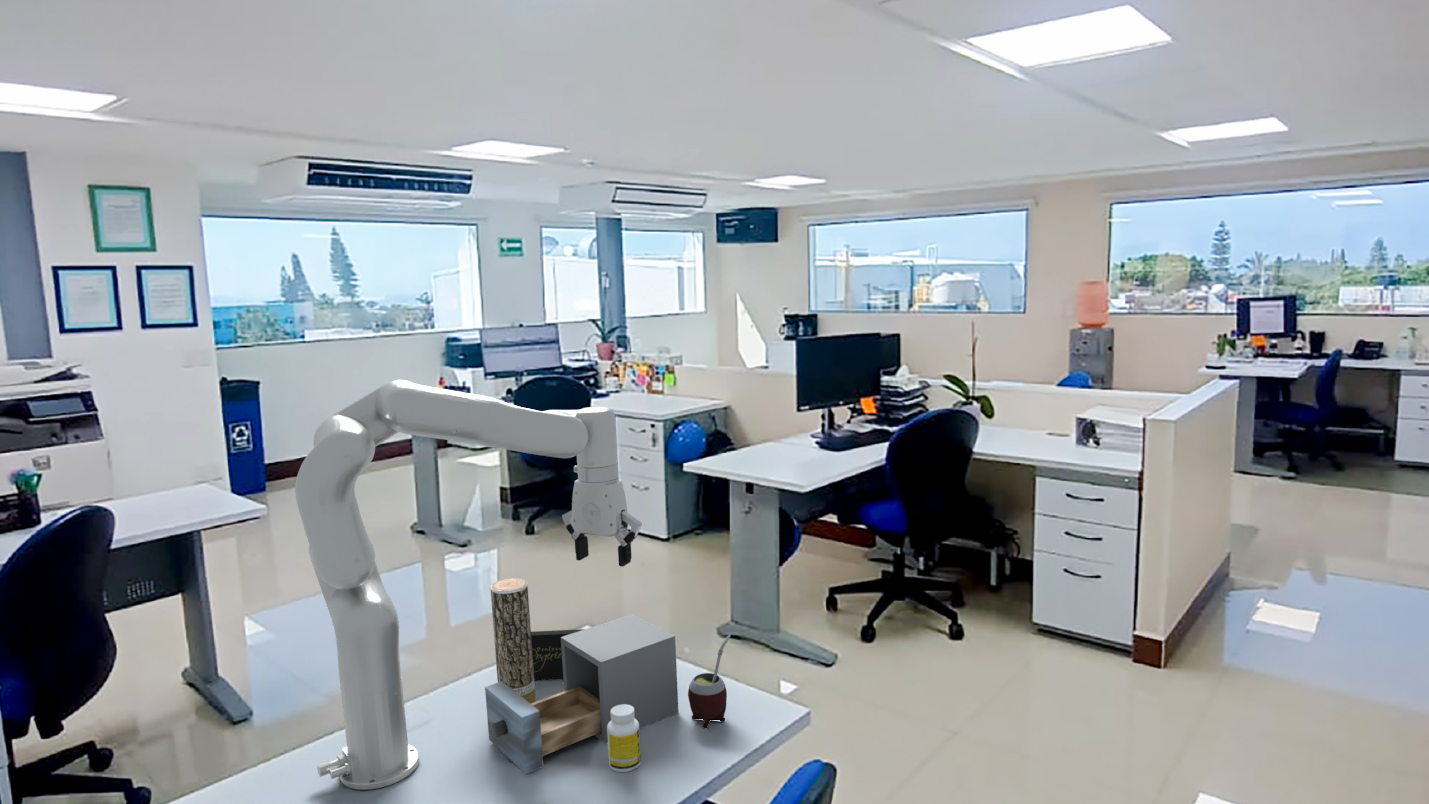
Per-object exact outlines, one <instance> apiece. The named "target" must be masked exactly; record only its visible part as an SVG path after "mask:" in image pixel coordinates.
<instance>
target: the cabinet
mask: <svg viewBox="0 0 1429 804" xmlns="http://www.w3.org/2000/svg"><path fill="white" fill-rule="evenodd" d="M583 629H584V630H581V631H578V632H575V633H572V634H569V635H566V636H563V637H561V649H562V665H563V692H564V691H566V690H569V689H572V688H575V687H577V686H580V687H582V688H583V689H585V690H586V691H588V692H589V693H591V694H592V695H594V696H595V697H596V698H598V699H599V700H600V712H601V729H602V732H599V733H597V734H595V735H594V736H595V737H596V738H598V739H599V740H601V741H602V742H603V743H604V744H608V737H607V725H608V723H609V722H610V721H611V709H612V708H613V707H615V706H617V705H622V704H627V705H631V706H633V708H634V713H635V717H634V718H635V719H636V720H637V721H638V723H639V730H640V729H643V728H646V727H649V726H650V725H653V724H655V723H657V722H660V721H662V720H664V719H666V718H669V717H672V716H674V715H676V714H678V713H679V696H678V695H679V693H678V691H679V690H678V675H677V674H678V672H677V671H678V670H677V669H678V667H677V651H676V650H677V649H676V648H677V647H676V646H677V645H676V635H674V634H672V633H670V632H668V631H666V630H664V629H663V628H660V627H659V626H656V625H655V624H653V623H651V622H649V621H647V620H645V619H643V618H641V617H639V616H637V615H635V614H633V613H631V614H629V615H625V616H621V617H618V618H616V619H613V620H610V621H606V622H604V623H601V624H597V625H594V626H591V627H588V628H583ZM673 714H674V715H673Z"/></svg>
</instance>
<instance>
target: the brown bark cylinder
mask: <svg viewBox="0 0 1429 804" xmlns="http://www.w3.org/2000/svg"><path fill="white" fill-rule="evenodd" d="M528 587H529V585H528V581H527V580H525V579H524V578H520V577H519V578H518V577H517V578H515V577H514V578H513V577H511V578H505V579H500V580H497V581H495V582H493V583H492V584H490V599H491V600H490V601H491V610H492V611H491V612H492V613H491V614H492V625H493V637H494V638H493V639H494V650H495V652H494V653H495V663H496V676H497V678H496V680H497V683H498V682H501V681H502V682H503V683H505V684H506V685H507V686H509V687H510V688H511V689H512V690H514V691H515V692H516V693H517V694H519V695H520V696H521V697H522V698H524V699H525V700H526V701H528V702H529V703H530V704H531V703H534V702H537V700H536V688H535V687H536V685H535V681H534V669H533V655H532V641H531V632H532V630H531V629H532V627H531V617H530V601H529V600H530V599H529V588H528Z"/></svg>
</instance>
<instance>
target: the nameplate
mask: <svg viewBox="0 0 1429 804" xmlns="http://www.w3.org/2000/svg"><path fill="white" fill-rule="evenodd" d="M584 629H585V628H583V629H581V628H579V629H561V630H557V629H556V630H541V631H539V630H538V631H531V641H532V655H533V669H534V682H540V681H541V682H542V681H559V680H560V681H562V680H563V665H562V649H561V637H563V636H566V635H569V634H572V633H575V632H578V631H581V630H584ZM563 681H564V680H563Z"/></svg>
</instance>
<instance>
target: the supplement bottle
mask: <svg viewBox="0 0 1429 804" xmlns="http://www.w3.org/2000/svg"><path fill="white" fill-rule="evenodd" d="M634 717H635V713H634V708H633V706H631V705H627V704H622V705H617V706H615V707H613V708H612V709H611V721H610V722H609V723H608V725H607V737H608V743H607V754H608V767H609V768H610V769H611V770H612V771H615V772H618V773H628V772H631V771H634V770H636V769H637V768H638V767H639V766H640V765H641V759H642V758H641V757H642V756H641V740H640V739H641V738H640V737H641V735H640V729H639V723H638V721H637V720H636V719H635V718H634Z"/></svg>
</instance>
